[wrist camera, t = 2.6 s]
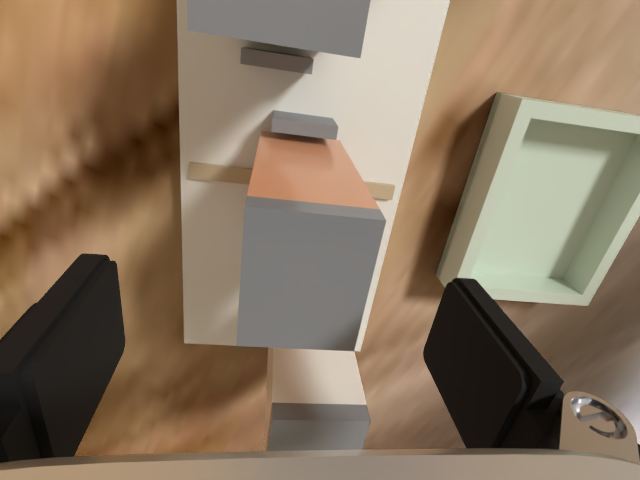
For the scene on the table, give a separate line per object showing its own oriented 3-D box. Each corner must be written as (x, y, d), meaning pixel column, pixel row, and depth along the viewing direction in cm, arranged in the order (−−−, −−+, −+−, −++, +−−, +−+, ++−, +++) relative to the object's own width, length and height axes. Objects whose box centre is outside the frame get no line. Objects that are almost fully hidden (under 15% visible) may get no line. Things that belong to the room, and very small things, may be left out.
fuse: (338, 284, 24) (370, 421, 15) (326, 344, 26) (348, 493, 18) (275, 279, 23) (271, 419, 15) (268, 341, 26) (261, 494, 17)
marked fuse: (339, 140, 20) (386, 220, 11) (325, 227, 22) (354, 351, 13) (261, 130, 19) (244, 206, 10) (254, 221, 21) (236, 346, 13)
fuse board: (462, -82, 17) (499, -107, 14) (356, 346, 28) (364, 380, 25) (179, -147, 15) (156, -190, 12) (187, 338, 26) (176, 374, 23)
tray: (650, 116, 22) (691, 124, 20) (562, 284, 27) (587, 305, 25) (496, 92, 20) (522, 98, 18) (435, 274, 26) (450, 296, 23)
